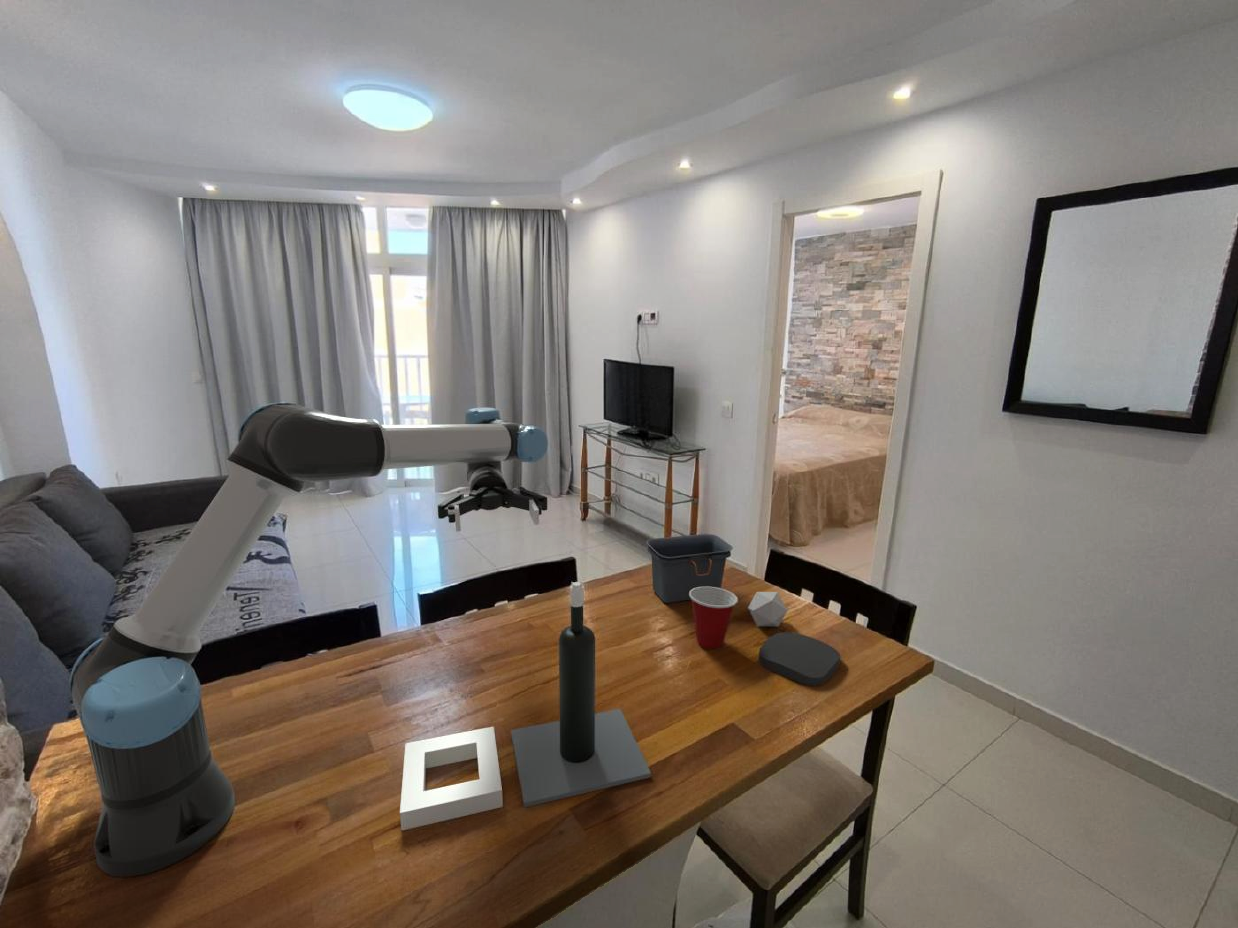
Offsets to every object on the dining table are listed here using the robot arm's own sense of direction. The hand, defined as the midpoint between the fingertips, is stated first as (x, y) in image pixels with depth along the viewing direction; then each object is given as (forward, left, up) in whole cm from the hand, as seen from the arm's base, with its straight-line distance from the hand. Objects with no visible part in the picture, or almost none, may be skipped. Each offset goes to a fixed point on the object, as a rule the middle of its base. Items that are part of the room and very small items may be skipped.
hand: (498, 520), depth 97 cm
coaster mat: (+10, -18, -36) cm, 41 cm away
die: (+64, +11, -36) cm, 74 cm away
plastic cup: (+47, +7, -36) cm, 60 cm away
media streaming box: (+62, -5, -37) cm, 72 cm away
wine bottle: (+10, -18, -35) cm, 41 cm away
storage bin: (+52, +30, -36) cm, 70 cm away
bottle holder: (-10, -18, -36) cm, 41 cm away
